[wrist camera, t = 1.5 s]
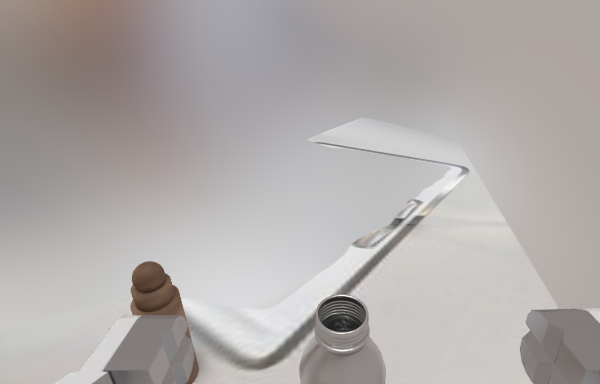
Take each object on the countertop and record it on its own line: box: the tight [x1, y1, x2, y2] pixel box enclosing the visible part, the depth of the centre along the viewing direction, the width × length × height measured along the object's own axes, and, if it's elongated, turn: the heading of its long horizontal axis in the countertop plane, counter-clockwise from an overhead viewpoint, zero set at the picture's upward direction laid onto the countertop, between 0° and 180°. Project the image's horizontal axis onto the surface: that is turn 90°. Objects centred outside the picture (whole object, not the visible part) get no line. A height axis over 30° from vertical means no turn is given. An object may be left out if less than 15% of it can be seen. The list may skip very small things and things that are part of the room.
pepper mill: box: [131, 262, 199, 384], centre depth 39 cm, size 5×5×17 cm
